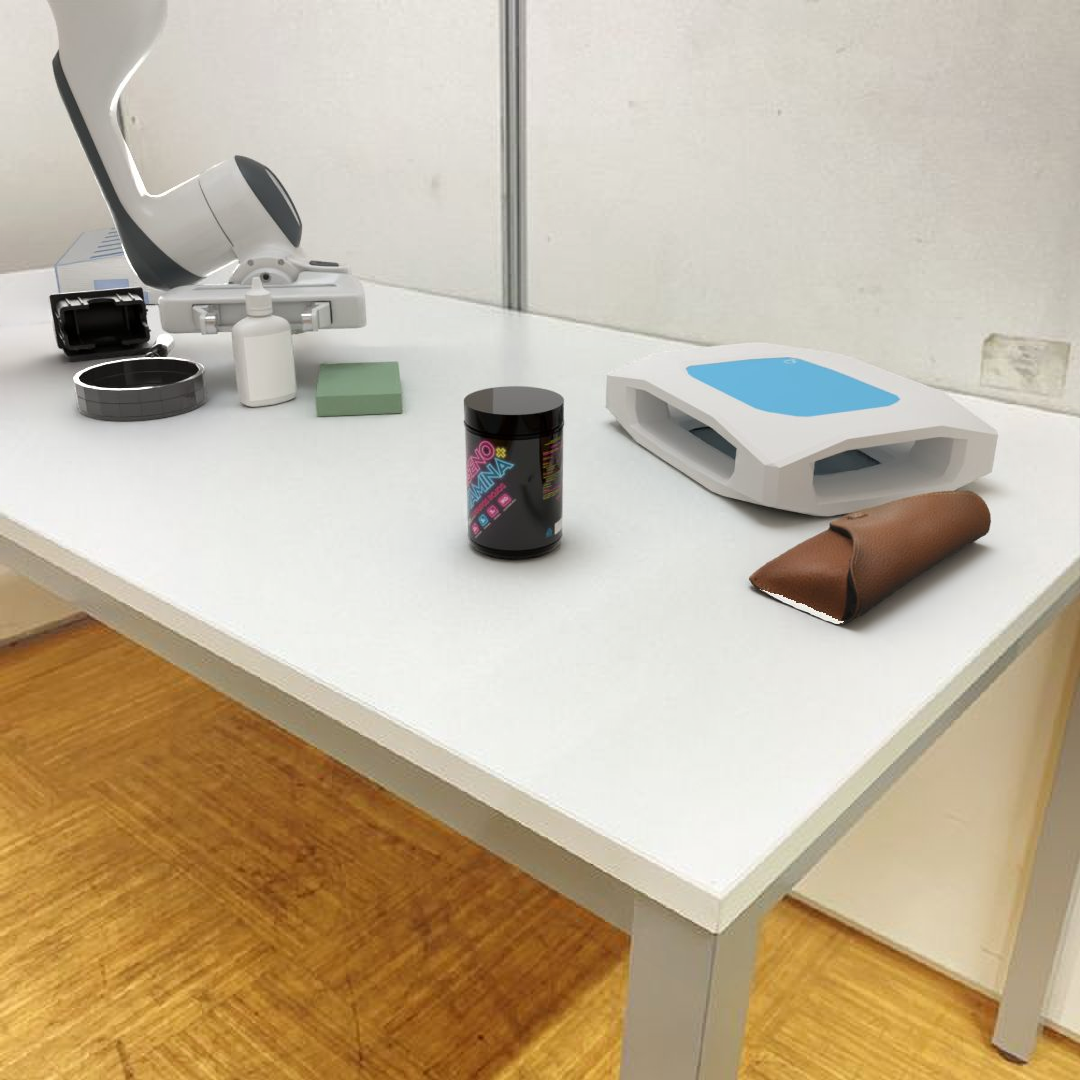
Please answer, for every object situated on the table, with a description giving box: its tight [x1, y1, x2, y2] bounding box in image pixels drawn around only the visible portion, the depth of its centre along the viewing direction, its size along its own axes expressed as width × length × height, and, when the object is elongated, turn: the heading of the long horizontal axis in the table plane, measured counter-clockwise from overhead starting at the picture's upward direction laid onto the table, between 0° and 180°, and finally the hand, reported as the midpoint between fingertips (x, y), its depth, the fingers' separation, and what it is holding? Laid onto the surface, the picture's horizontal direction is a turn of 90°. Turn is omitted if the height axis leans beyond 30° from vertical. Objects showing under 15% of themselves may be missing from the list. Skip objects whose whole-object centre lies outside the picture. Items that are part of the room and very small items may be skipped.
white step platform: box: [605, 341, 999, 517], centre depth 96 cm, size 21×28×6 cm
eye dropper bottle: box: [231, 277, 298, 408], centre depth 109 cm, size 4×6×12 cm
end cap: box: [48, 287, 152, 362], centre depth 128 cm, size 10×7×7 cm
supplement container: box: [463, 385, 565, 560], centre depth 77 cm, size 7×7×10 cm
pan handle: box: [143, 333, 175, 358], centre depth 120 cm, size 2×10×2 cm, turn 8°
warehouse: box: [53, 226, 166, 305], centre depth 164 cm, size 30×14×8 cm, turn 14°
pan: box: [72, 357, 208, 422], centre depth 110 cm, size 12×12×3 cm
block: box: [315, 361, 403, 417], centre depth 112 cm, size 8×12×2 cm, turn 8°
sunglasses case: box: [748, 490, 992, 625], centre depth 75 cm, size 18×7×7 cm
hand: (259, 324), depth 107 cm, fingers open, 8 cm apart
